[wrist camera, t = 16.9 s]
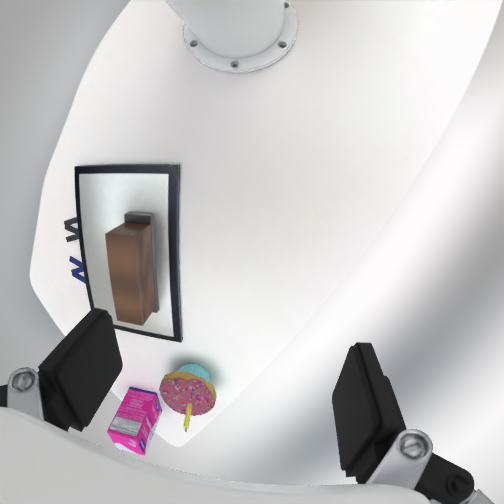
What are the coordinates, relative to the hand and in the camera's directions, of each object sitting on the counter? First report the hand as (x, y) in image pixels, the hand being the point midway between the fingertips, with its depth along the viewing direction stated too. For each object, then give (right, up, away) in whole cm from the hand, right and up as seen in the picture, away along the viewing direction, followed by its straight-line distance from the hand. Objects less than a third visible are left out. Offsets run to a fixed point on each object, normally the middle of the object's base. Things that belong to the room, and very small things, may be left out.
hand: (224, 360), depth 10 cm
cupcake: (-8, -15, +32) cm, 36 cm away
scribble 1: (-24, +7, +25) cm, 35 cm away
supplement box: (-19, -23, +36) cm, 47 cm away
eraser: (-13, +3, +24) cm, 27 cm away
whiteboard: (-15, +3, +25) cm, 30 cm away
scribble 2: (-25, +1, +27) cm, 36 cm away
